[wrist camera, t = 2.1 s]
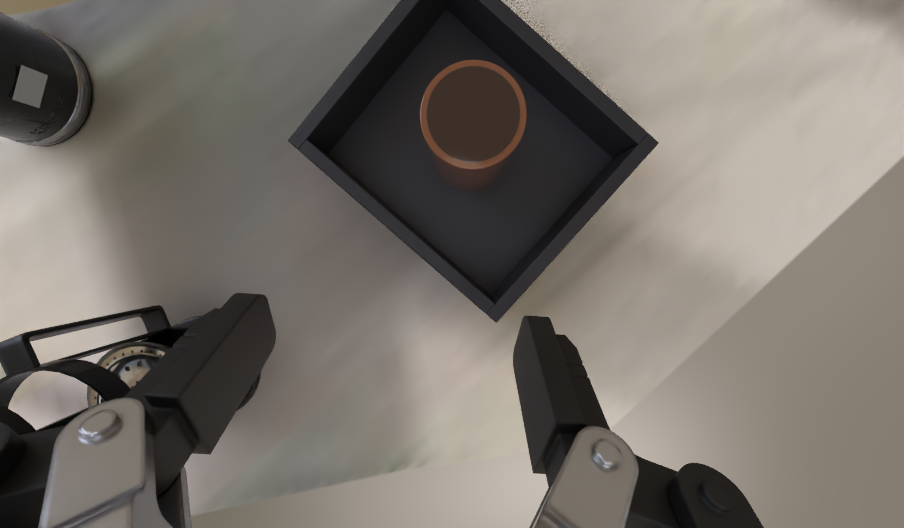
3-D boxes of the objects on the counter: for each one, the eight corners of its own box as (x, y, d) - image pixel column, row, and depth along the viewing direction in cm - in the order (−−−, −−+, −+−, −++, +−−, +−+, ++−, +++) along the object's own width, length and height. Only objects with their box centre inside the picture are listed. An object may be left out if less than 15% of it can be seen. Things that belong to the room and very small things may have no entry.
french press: (280, 402, 31) (-269, 888, 8) (187, 437, 31) (-595, 994, 8) (229, 282, 30) (-533, 415, 7) (135, 319, 30) (-869, 557, 7)
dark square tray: (316, 157, 29) (287, 140, 24) (445, 0, 28) (442, -53, 23) (490, 309, 29) (496, 323, 24) (624, 160, 28) (659, 142, 23)
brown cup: (418, 159, 28) (397, 120, 19) (465, 103, 27) (468, 34, 18) (472, 207, 28) (477, 191, 19) (520, 152, 28) (550, 108, 18)
